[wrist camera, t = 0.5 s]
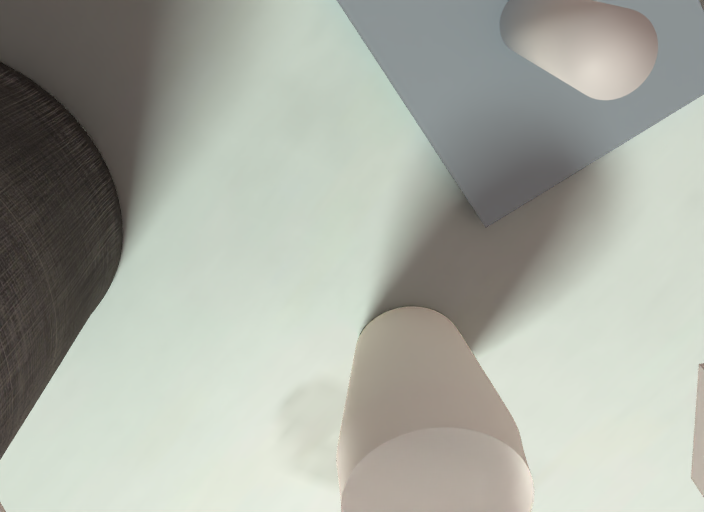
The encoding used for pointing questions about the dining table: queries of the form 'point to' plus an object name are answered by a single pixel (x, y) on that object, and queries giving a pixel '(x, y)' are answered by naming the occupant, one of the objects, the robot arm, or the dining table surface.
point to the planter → (47, 241)
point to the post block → (532, 82)
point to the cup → (426, 424)
